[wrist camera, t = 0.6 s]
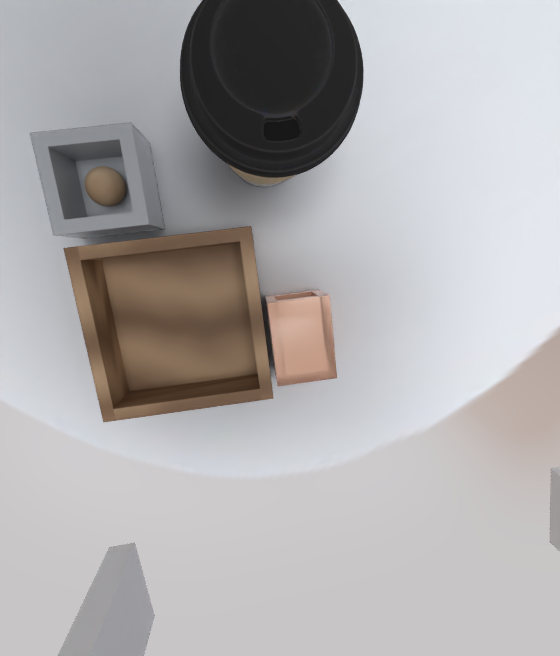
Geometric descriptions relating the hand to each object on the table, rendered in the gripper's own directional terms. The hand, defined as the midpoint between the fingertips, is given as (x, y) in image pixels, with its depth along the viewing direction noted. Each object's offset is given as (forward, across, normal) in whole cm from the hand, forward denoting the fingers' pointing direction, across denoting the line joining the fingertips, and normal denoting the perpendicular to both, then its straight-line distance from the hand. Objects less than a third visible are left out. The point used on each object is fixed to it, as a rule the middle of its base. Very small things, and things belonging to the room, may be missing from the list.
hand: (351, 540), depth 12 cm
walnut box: (+24, -9, +4) cm, 26 cm away
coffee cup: (+25, +1, +17) cm, 30 cm away
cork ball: (+24, -12, +16) cm, 31 cm away
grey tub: (+25, -12, +16) cm, 32 cm away
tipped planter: (+24, +1, +1) cm, 25 cm away
